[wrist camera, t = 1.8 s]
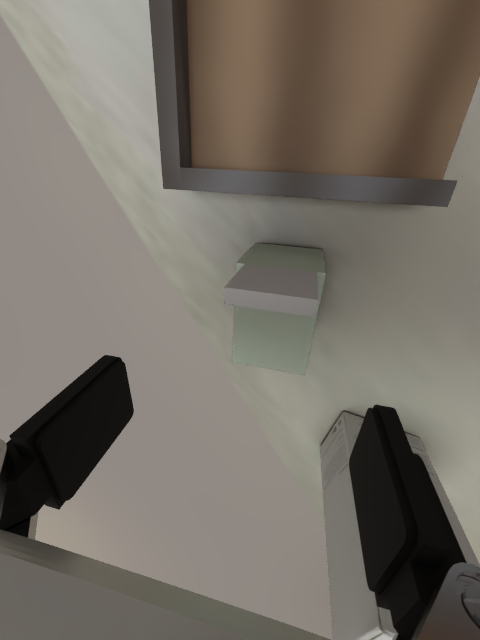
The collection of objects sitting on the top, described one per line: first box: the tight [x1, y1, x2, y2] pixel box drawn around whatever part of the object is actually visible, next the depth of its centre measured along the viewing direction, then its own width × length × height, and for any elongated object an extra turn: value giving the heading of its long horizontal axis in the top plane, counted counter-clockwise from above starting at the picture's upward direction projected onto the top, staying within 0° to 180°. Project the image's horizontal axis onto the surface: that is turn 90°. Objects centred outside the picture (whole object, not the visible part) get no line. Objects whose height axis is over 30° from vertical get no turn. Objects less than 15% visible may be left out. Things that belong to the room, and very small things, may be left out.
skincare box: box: [320, 412, 480, 640], centre depth 21 cm, size 8×7×16 cm
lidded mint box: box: [224, 243, 326, 375], centre depth 18 cm, size 5×7×11 cm
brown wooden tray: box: [149, 0, 480, 207], centre depth 14 cm, size 16×14×5 cm
